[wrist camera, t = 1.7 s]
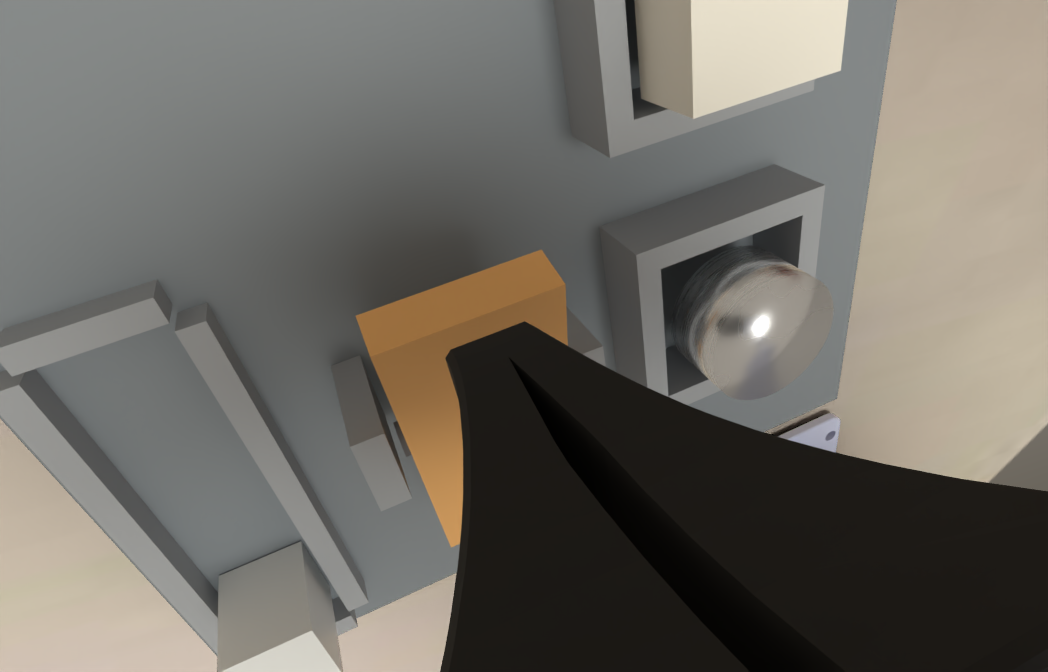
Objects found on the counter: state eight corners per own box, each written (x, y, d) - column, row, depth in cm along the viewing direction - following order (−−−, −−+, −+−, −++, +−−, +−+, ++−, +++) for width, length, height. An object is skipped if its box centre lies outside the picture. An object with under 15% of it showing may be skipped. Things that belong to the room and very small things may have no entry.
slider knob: (329, 587, 18) (343, 675, 16) (254, 620, 18) (257, 716, 16) (301, 540, 17) (311, 630, 15) (218, 576, 17) (216, 673, 14)
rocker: (555, 449, 18) (578, 490, 17) (429, 503, 17) (445, 550, 16) (540, 234, 12) (573, 281, 11) (342, 303, 11) (361, 360, 10)
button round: (778, 335, 18) (825, 370, 16) (673, 380, 17) (713, 420, 16) (786, 227, 16) (841, 255, 14) (667, 272, 15) (713, 306, 14)
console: (798, 369, 25) (905, 450, 21) (233, 617, 20) (234, 780, 16) (858, -237, 14) (1095, -302, 10) (-277, -1, 10) (-609, 39, 6)
